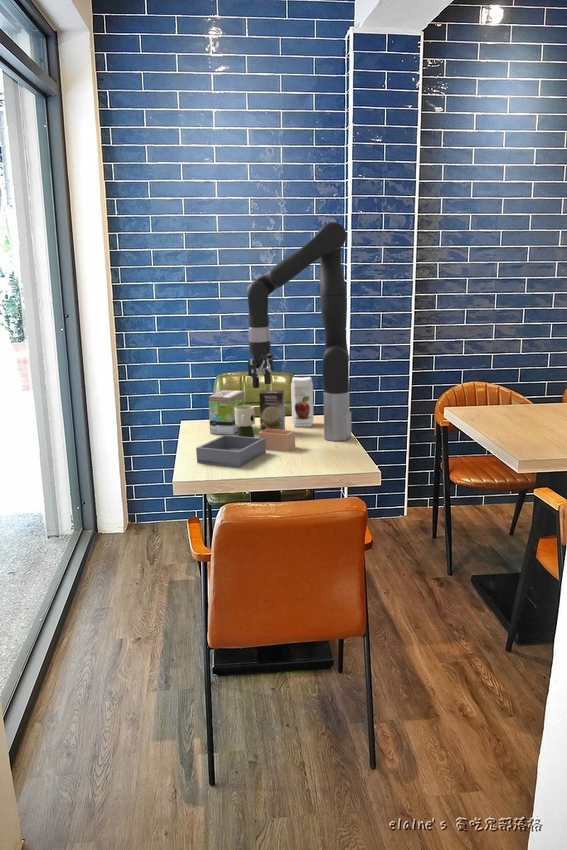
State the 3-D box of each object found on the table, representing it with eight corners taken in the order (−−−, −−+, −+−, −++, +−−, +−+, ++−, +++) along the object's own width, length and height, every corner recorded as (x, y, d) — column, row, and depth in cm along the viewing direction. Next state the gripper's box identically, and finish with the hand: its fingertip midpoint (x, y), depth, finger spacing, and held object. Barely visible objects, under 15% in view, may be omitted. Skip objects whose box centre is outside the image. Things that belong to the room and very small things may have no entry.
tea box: (234, 435, 248) (232, 396, 244) (209, 434, 250) (207, 396, 247) (246, 426, 262) (244, 389, 258) (223, 425, 264) (221, 389, 261)
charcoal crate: (265, 452, 222) (265, 438, 221) (240, 467, 206) (239, 452, 205) (224, 448, 229) (224, 434, 227) (197, 462, 213) (196, 447, 212)
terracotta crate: (295, 447, 228) (294, 430, 227) (288, 452, 223) (287, 434, 221) (267, 444, 233) (266, 428, 231) (259, 449, 227) (258, 432, 226)
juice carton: (292, 423, 264) (291, 376, 259) (314, 422, 263) (312, 376, 259) (291, 427, 256) (290, 379, 252) (313, 427, 256) (312, 379, 251)
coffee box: (259, 435, 246) (258, 393, 243) (262, 431, 252) (260, 390, 249) (284, 434, 245) (282, 392, 242) (285, 430, 252) (284, 389, 248)
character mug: (254, 446, 231) (253, 410, 228) (234, 446, 231) (232, 410, 228) (256, 438, 241) (255, 404, 238) (237, 438, 242) (235, 404, 239)
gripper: (259, 342, 219) (261, 390, 223) (278, 337, 232) (280, 383, 235) (240, 342, 223) (242, 389, 226) (259, 337, 235) (262, 382, 239)
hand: (262, 385), depth 231 cm, fingers open, 8 cm apart
